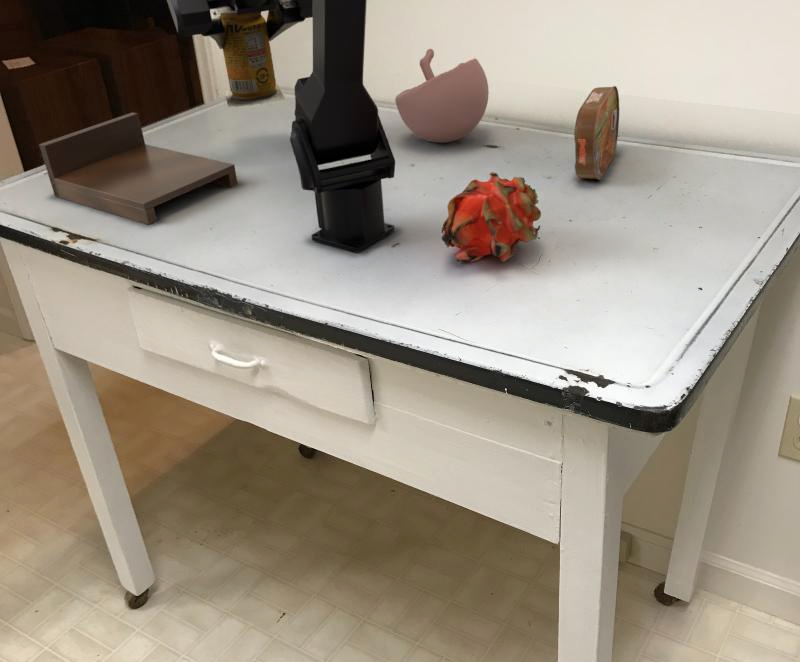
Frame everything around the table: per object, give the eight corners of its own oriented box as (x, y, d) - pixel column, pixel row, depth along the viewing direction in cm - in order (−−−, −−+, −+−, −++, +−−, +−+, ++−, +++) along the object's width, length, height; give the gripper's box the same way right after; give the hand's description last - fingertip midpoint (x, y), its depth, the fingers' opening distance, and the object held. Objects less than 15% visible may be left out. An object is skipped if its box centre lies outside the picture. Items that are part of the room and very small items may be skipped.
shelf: (238, 184, 105) (228, 131, 101) (148, 224, 96) (135, 168, 92) (143, 161, 114) (132, 112, 111) (54, 196, 106) (38, 144, 102)
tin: (595, 190, 96) (600, 115, 92) (567, 188, 97) (571, 113, 93) (619, 147, 108) (625, 77, 103) (594, 145, 109) (598, 76, 104)
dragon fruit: (542, 250, 88) (457, 305, 83) (490, 189, 89) (404, 239, 85) (577, 203, 80) (485, 260, 76) (519, 137, 82) (426, 189, 77)
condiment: (278, 85, 116) (262, -11, 110) (285, 101, 110) (268, -1, 103) (225, 93, 115) (205, -3, 109) (228, 109, 109) (208, 7, 102)
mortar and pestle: (431, 121, 121) (428, 35, 114) (505, 133, 115) (506, 43, 108) (380, 147, 113) (374, 56, 107) (457, 161, 107) (454, 66, 101)
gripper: (309, -115, 99) (293, -22, 114) (149, -99, 94) (154, -3, 108) (340, -33, 98) (320, 51, 112) (178, -12, 92) (179, 74, 107)
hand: (244, 41), depth 110 cm, fingers closed on condiment, 6 cm apart
